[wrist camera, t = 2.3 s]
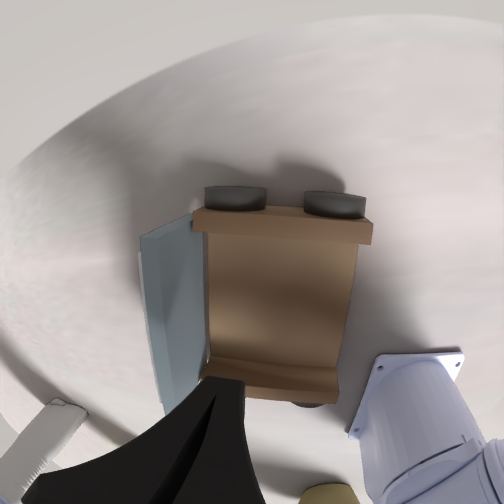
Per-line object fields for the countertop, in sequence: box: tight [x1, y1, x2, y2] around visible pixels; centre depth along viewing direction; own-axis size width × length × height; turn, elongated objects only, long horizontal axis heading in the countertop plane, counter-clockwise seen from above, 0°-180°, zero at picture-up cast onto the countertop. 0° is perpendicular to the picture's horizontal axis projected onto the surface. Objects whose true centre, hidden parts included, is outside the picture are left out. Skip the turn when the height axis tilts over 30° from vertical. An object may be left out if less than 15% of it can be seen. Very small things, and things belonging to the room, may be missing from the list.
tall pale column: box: [0, 398, 88, 504], centre depth 16 cm, size 11×4×22 cm, turn 112°
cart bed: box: [193, 186, 373, 408], centre depth 16 cm, size 13×8×4 cm, turn 178°
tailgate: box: [137, 214, 207, 416], centre depth 15 cm, size 10×1×6 cm, turn 178°
